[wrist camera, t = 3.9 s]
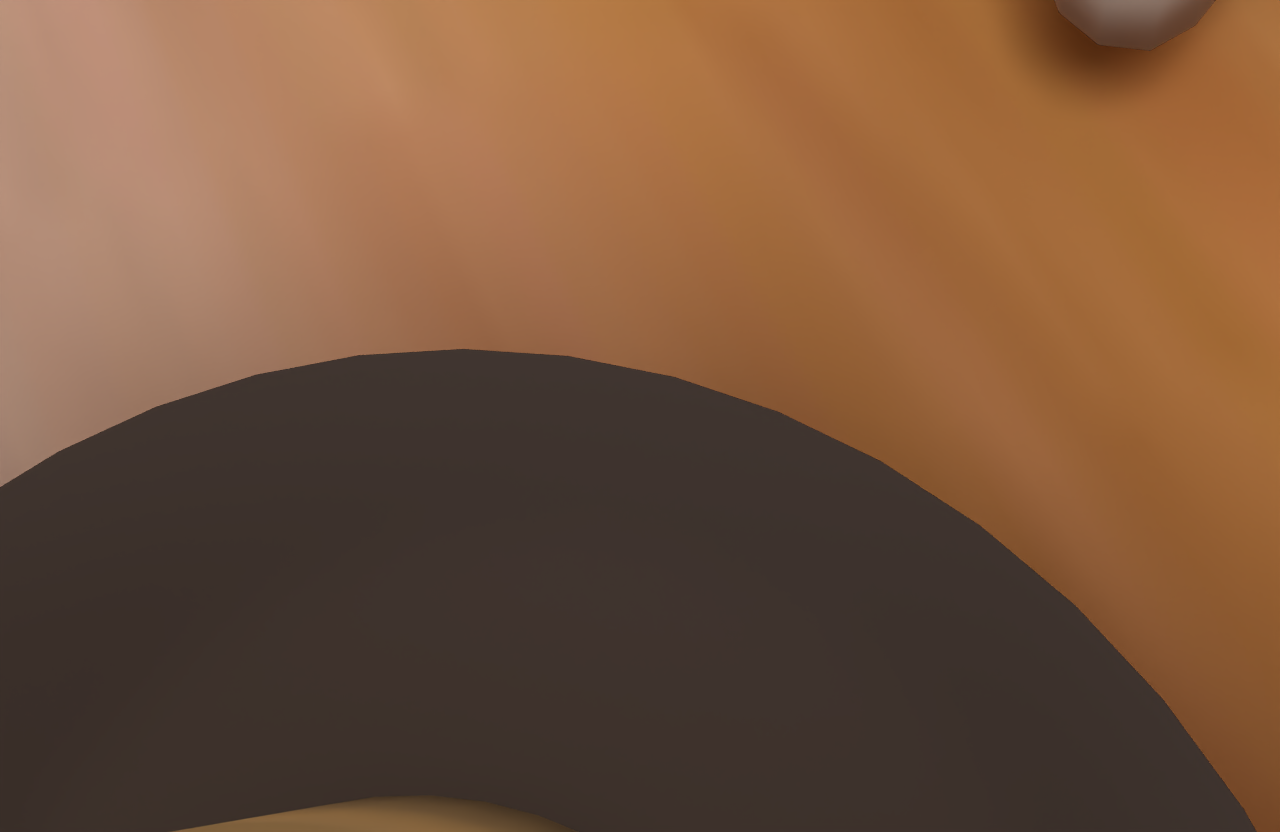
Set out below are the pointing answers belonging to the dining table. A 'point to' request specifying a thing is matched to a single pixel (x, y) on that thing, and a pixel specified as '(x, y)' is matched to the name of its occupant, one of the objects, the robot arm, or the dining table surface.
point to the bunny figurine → (1133, 20)
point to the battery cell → (543, 625)
